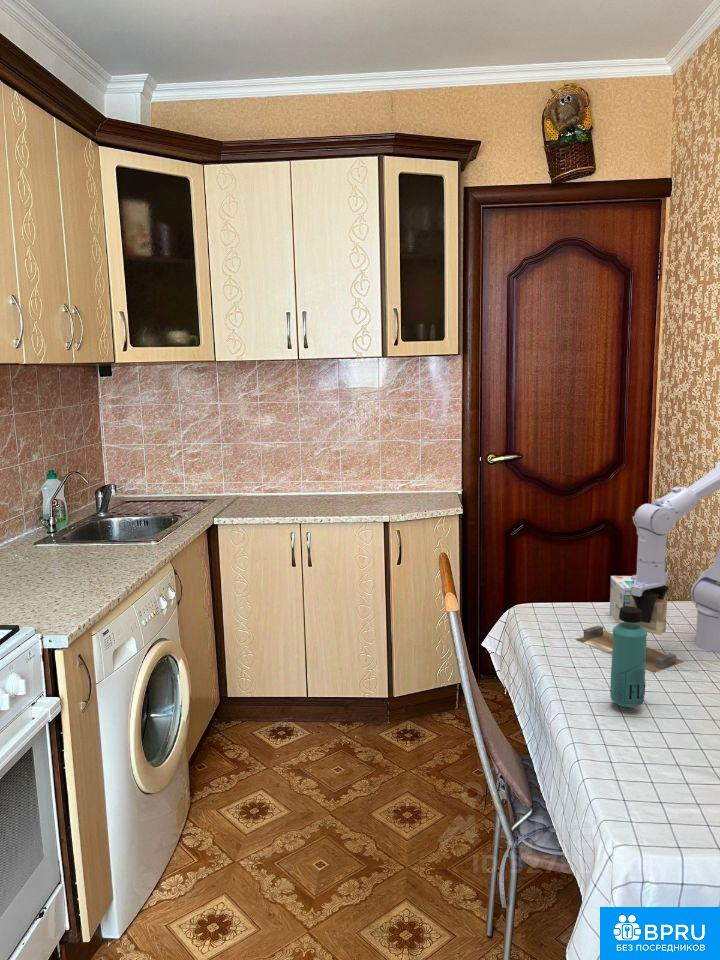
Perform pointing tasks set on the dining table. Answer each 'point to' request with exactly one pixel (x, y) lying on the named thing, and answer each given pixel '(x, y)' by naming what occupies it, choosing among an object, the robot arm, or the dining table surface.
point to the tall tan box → (655, 617)
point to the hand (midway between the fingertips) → (648, 619)
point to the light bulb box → (620, 594)
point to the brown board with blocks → (605, 641)
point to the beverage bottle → (628, 659)
